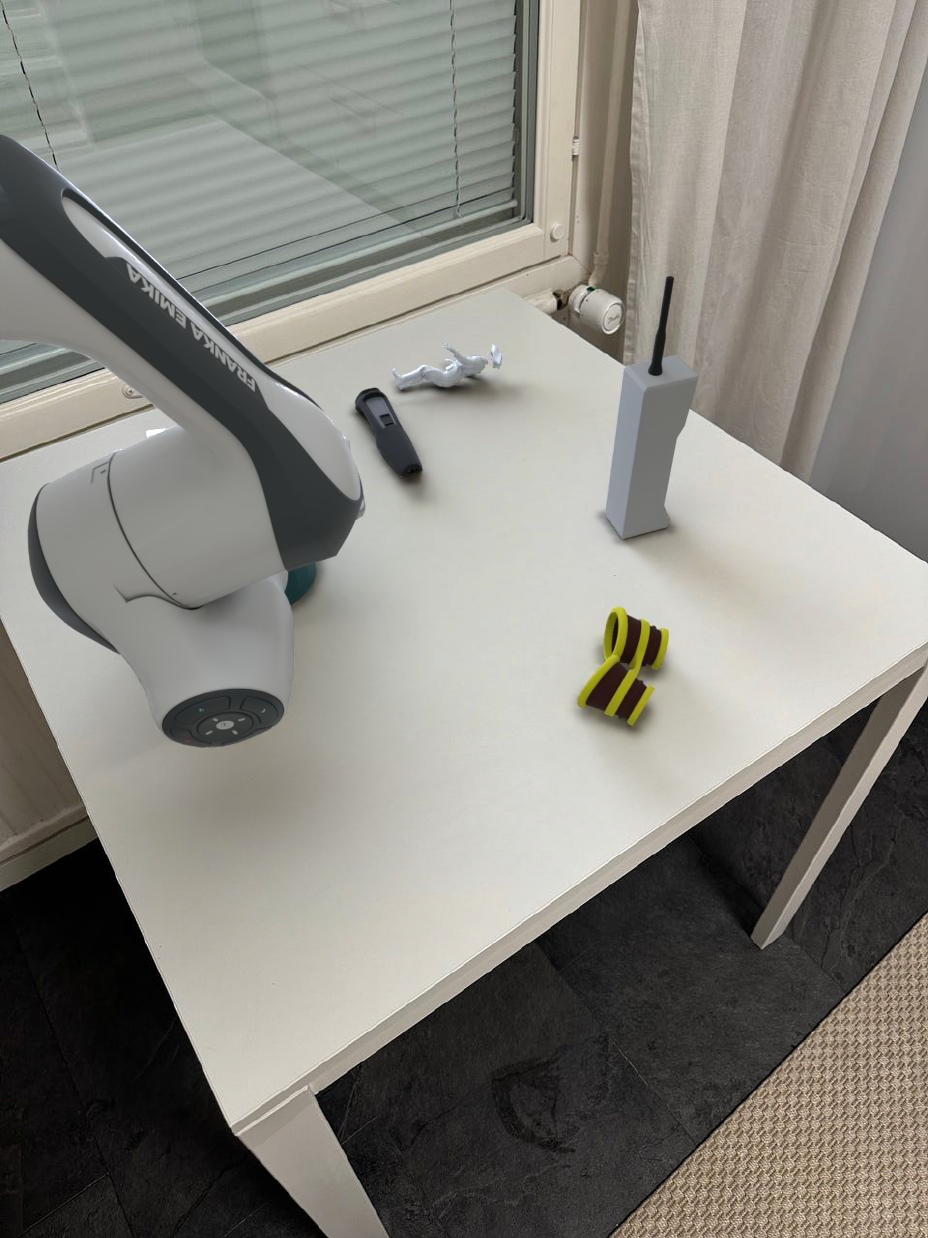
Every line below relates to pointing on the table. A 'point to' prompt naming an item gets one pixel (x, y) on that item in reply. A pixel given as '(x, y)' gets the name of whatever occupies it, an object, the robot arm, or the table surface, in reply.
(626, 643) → the opera glasses
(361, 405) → the electric trimmer
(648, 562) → the table surface
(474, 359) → the soldier figure
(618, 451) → the vintage mobile phone
